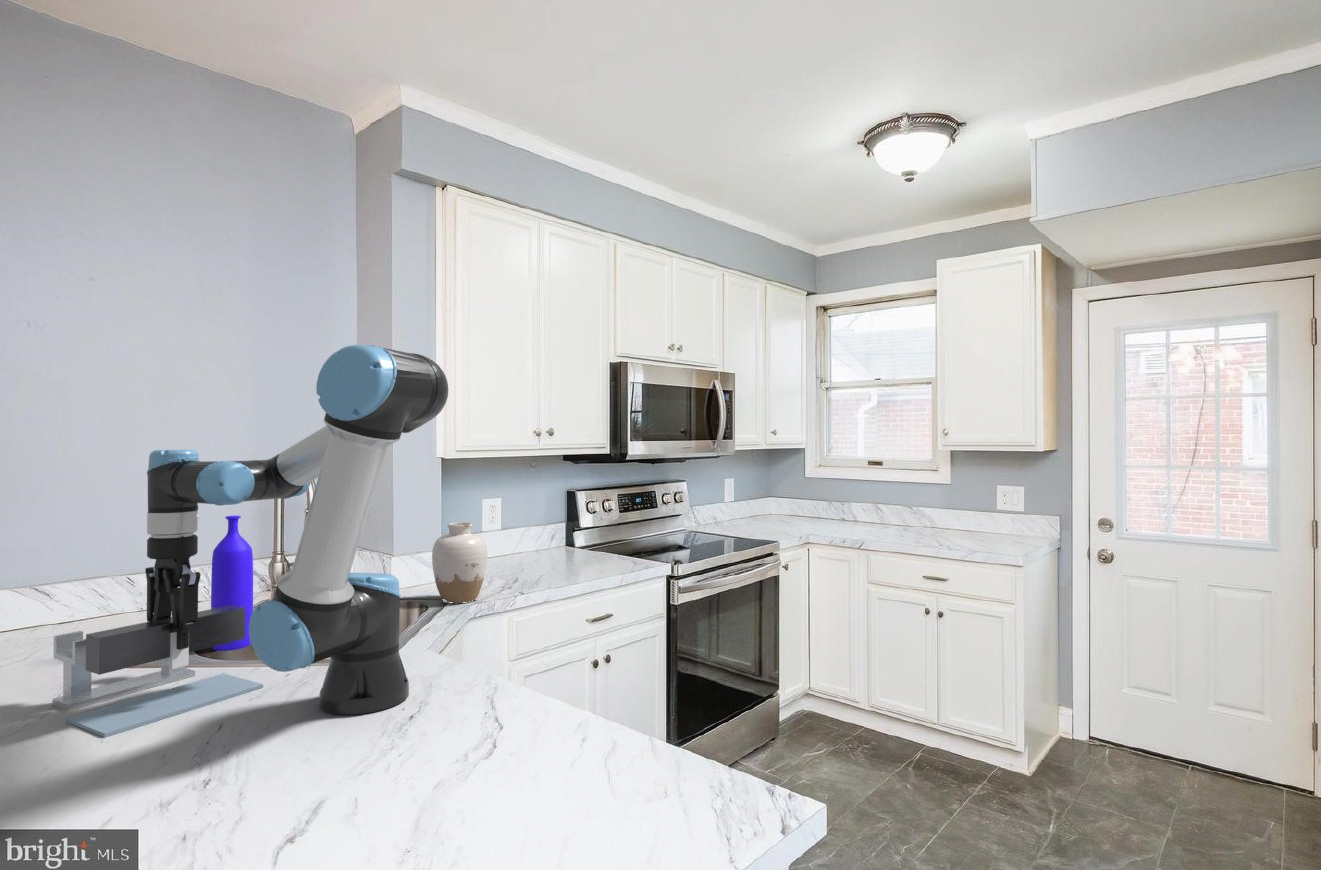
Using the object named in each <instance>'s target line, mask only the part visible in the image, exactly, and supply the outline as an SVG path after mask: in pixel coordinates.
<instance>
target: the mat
mask: <svg viewBox="0 0 1321 870" xmlns="http://www.w3.org/2000/svg"><path fill="white" fill-rule="evenodd" d="M262 688H264V683H261V682H257V681H254V680H253V681H252V680H250V679H246V678H243V677H239V676H234V675H233V674H232V675H231V674H227V673H221V674H217V675H214V676H210V677H205V678H203V679H200V680H195V681H192V682H188V683H185V684H182V685H178V686H175V687H171V688H168V689H164V690H161V691H158V692H153V693H150V694H146V695H143V696H140V697H135V698H132V699H128V700H125V701H122V702H118V703H115V704H111V705H108V706H104V707H101V708H97V709H94V710H90V711H87V712H83V713H79V714H76V715H73V716H69V717H66V718H65V723H68V724H71V725H73V726H76V727H78V728H81V729H83V730H86V731H88V732H90V733H94V734H96V735H98V736H101V737H103V738H107V737H111V736H113V735H117V734H119V733H123V732H126V731H129V730H133V729H135V728H136V729H137V728H140V727H142V726H145V725H150V724H152V723H155V722H158V721H161V720H164V719H169V718H171V717H174V716H177V715H180V714H184V713H186V712H191V711H193V710H196V709H200V708H202V707H205V706H208V705H212V704H215V703H218V702H221V701H225V700H228V699H230V698H231V699H232V698H234V697H237V696H240V695H244V694H246V693H249V692H250V693H251V692H253V691H256V690H260V689H262Z"/></svg>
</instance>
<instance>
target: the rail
mask: <svg viewBox="0 0 1321 870" xmlns="http://www.w3.org/2000/svg"><path fill="white" fill-rule="evenodd" d="M171 629H174V628H173V619H172V617H170V618H165V619H160V620H155V621H150V622H148V621H146V622H141V623H136V624H131V625H125V626H120V627H116V628H112V629H111V628H110V629H106V630H100V631H95V632H90V633H86V634H85V639H86V671H89V672H92V673H93V674H95V675H99V676H100V675H103V674H108V673H111V672H115V671H121V670H124V669H127V668H128V669H129V668H132V667H136V666H140V665H144V664H148V663H152V662H153V663H154V661H157V660H161V659H165V658H169V657H170V632H169V630H171ZM242 639H245V608H244V607H239V606H234V605H229V606H224V607H219V608H214V609H211V608H210V609H205V610H201V611H198V625H197V626H196V627H192V628H191V629H189V653H193V652H196V651H200V650H206V649H208V648H212V647H214V646H218V645H222V644H226V643H230V642H234V641H238V640H242ZM92 673H91V674H92Z"/></svg>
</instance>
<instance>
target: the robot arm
mask: <svg viewBox="0 0 1321 870" xmlns="http://www.w3.org/2000/svg"><path fill="white" fill-rule="evenodd" d="M449 390H450V389H449V383H448V378H447V377H446V374H445V372H444V370H443V369H442V368H441V366H440V365H439V364H437V363H436V362H435V361H434V360H433V359H431V358H430V357H427V356H425V355H422V354H418V353H412V352H405V351H401V350H395V349H391V348H387V347H382V346H376V345H362V344H353V345H352V344H351V345H347V346H344V347H342V348H340V349H339V350H336V351H335V352H333V353H332V354H331V355H329V357H328V358H327V359H326V361H325V362H324V363H323V365H322V367H321V368H320V370H319V373H318V375H317V380H316V395H317V396H319V398H318V399H317V400H318V403H319V406H320V407H321V409H322V410H323V411H324V412H325V415H324V419H323V422H324V424H325V426H323V427H321V428H320V429H318V430H317V431H315V432H313V433H311V434H309V435H308V436H306V437H305V438H302V439H301V440H300V441H298V442H297V443H294V444H293V445H292V446H289V447H288V448H286V449H285V450H283V451H282V452H280V453H277V454H276V455H275V456H273V457H271V458H269V459H254V460H226V461H225V460H220V461H219V460H218V461H216V460H215V461H212V460H211V461H209V460H208V461H202V460H200V456H199V452H198V451H197V450H196V449H156V450H153V451H151V452H150V453H149V456H148V466H147V467H148V468H147V471H146V475H147V513H146V534H147V535H149V537H148V539H147V540H146V542H147V543H146V557H147V558H148V559H150V560H155V563H154V566H150V567H146V568H145V576H146V622H150V621H155V620H160V619H165V618H170V617H171V613H172V619H173V628H174V629H171V630H169V632H170V657H169V658H165V659H161V660H157V661H153V664H154V665H159V664H161V663H164V662H168V661H170V669H175V668H178V667H182V666H189V665H190V664H189V660H190V659H189V657H190V655H189V653H190V652H189V629H191V628H192V627H196V626H197V625H198V612H199V583H200V580H201V572H200V571H195V572H194V571H192V569H191V563H190V558H191V557H194V556H196V555H197V554H198V552H199V550H198V548H199V547H198V545H199V544H198V543H199V540H198V539H199V537H198V535H197V534H194V533H197V531H198V527H199V526H198V523H199V522H198V520H199V519H200V515H199V514H198V513H199V512H198V510H199V504H204V505H215V506H221V507H223V506H230V505H231V506H233V505H238V504H241V503H242V502H243V503H245V502H253V501H263V500H264V501H265V500H277V499H278V500H279V499H280V500H281V499H290V498H293V497H294V498H295V497H299V496H302V495H304V494H305V493H306V492H307V491H308V489H309V487H310V486H311V483H312V481H315V480H316V479H317V481H316V485H315V488H314V491H313V496H312V498H311V502H310V504H309V505H310V506H309V508H308V513H307V517H306V519H305V524H304V527H303V530H302V534H301V537H300V540H299V544H298V548H297V551H296V555H295V558H294V561H293V564H292V568H291V570H290V571H288V572H287V573H283V575H281V576H280V577H279V578H278V580H277V583H276V587H275V591H274V593H273V597H272V599H268V600H267V599H266V600H264V601H263V602H262V603H261V604H259V605H258V606H256V607H255V608H253V612H252V614H251V617H250V621H249V637H250V641H251V644H250V645H251V646H252V648H253V649H254V653H255V655H256V656H257V658H258V659H259V660H260V661H261V662H262V663H263V664H264V665H266V667H268V668H270V669H271V670H273V671H275V672H276V671H277V672H281V673H287V672H293V671H295V670H298V669H305V668H308V667H310V666H311V665H313V664H316V663H318V662H320V661H324V660H326V659H329V658H330V660H329V664H328V667H327V671H326V673H325V677H324V681H323V684H322V686H321V689H320V691H319V694H318V695H319V696H318V697H319V700H318V704H319V705H318V706H319V708H320V710H322V711H324V712H326V713H329V714H335V715H348V716H349V715H363V714H368V713H369V714H370V713H375V712H379V711H382V710H386V709H390V708H392V707H394V706H397V705H399V704H401V703H403V702H404V701H405V700H406V699H407V698H408V697H409V695H410V683H409V679H408V676H407V675H406V670H405V667H404V664H403V661H402V658H401V655H400V614H401V613H400V610H401V609H400V606H401V605H400V604H401V602H400V601H401V593H400V582H399V579H398V577H396V576H395V575H392V574H389V573H380V572H379V573H378V572H351V571H352V567H353V564H354V560H355V557H356V553H357V550H358V546H359V543H360V540H361V537H362V533H363V529H364V526H365V523H366V520H367V516H368V513H369V510H370V506H371V504H372V501H373V495H374V493H375V489H376V485H377V483H378V478H379V476H380V472H381V470H382V469H381V468H382V466H383V464H384V463H383V462H384V459H385V456H386V452H387V450H388V447H389V446H390V445H393V444H394V443H397V442H398V441H400V439H401V436H402V434H409V433H411V432H413V431H414V430H417V429H418V428H421V427H422V426H423V425H425V424H427V423H428V422H430V421H432V420H433V419H435V418H436V417H437V416H438V415H439V414H440V413H441V412H442V410H443V408H444V407H445V406H446V404H447V401H448V397H449Z"/></svg>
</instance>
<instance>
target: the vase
mask: <svg viewBox="0 0 1321 870" xmlns="http://www.w3.org/2000/svg"><path fill="white" fill-rule="evenodd" d="M472 527H473V523H471V522H451V523H448V524H447V528H448V531H449V532H448V533H449V534H445V535H442V536H440V537H438V538H437V539H436V541H435V542H434V544H433V548H432V552H431V564H432V571H433V578H434V582H435V586H436V589H437V591H438V594H439V597H440V599H441V598H442V599H445V600H447V601H449V602H453V603H463V602H469V601H472V600H475V599H476V598H477V599H478V596H479V594H480V592H481V589H482V587H483V582H484V579H485V576H486V569H487V563H488V548H487V544H486V541H485V539H484V538H483V537H482V536H480V535H478V534H474V533H472V532H471V531H472ZM442 599H441V600H442ZM477 599H476V600H477ZM476 600H475V601H476ZM469 603H470V602H469ZM463 604H464V603H463Z"/></svg>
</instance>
